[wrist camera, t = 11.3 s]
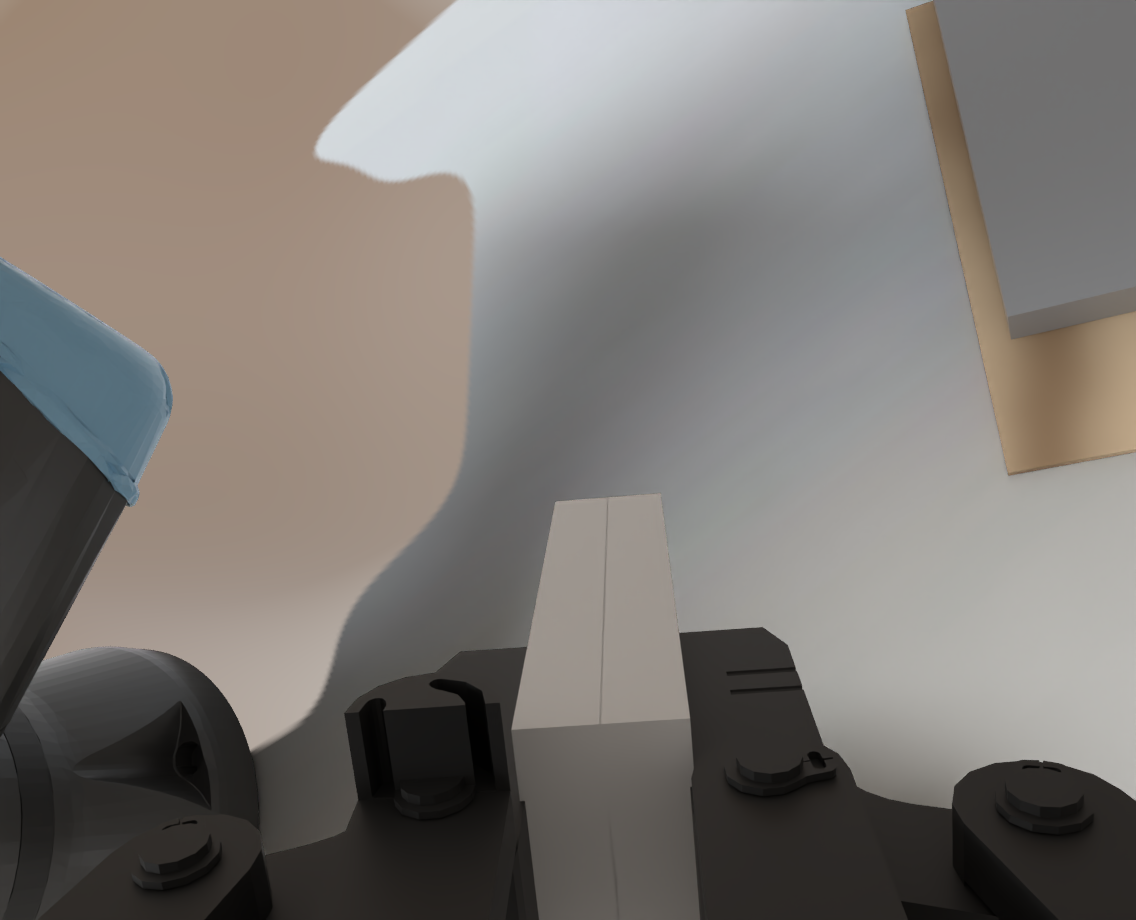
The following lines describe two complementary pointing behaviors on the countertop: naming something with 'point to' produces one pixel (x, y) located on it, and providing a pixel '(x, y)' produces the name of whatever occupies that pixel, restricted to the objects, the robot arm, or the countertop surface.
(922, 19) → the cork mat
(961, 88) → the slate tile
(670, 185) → the countertop surface
